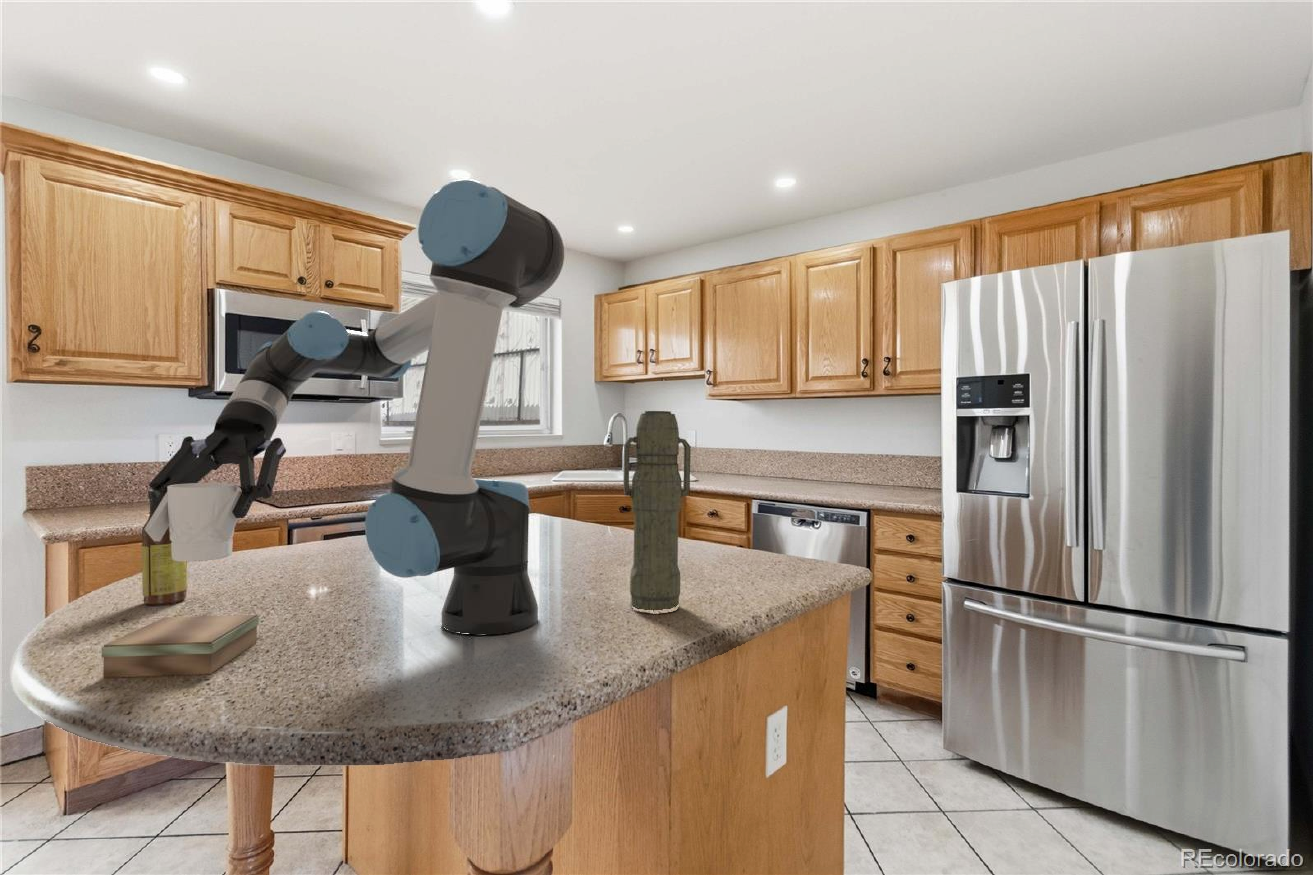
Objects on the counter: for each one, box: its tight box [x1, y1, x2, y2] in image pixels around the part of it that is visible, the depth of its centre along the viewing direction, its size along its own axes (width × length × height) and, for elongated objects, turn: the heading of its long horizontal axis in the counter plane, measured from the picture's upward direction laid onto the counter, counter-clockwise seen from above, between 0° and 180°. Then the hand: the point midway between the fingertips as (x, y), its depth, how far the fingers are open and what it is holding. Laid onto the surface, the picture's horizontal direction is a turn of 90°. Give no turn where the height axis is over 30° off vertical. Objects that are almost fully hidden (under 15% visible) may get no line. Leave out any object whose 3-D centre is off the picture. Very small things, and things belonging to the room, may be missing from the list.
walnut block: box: [101, 614, 260, 679], centre depth 84 cm, size 12×12×4 cm
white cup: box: [167, 482, 239, 563], centre depth 87 cm, size 8×8×10 cm
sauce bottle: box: [141, 489, 188, 606], centre depth 112 cm, size 7×6×20 cm
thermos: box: [623, 410, 692, 611], centre depth 113 cm, size 9×12×35 cm
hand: (186, 535), depth 84 cm, fingers closed on white cup, 8 cm apart
